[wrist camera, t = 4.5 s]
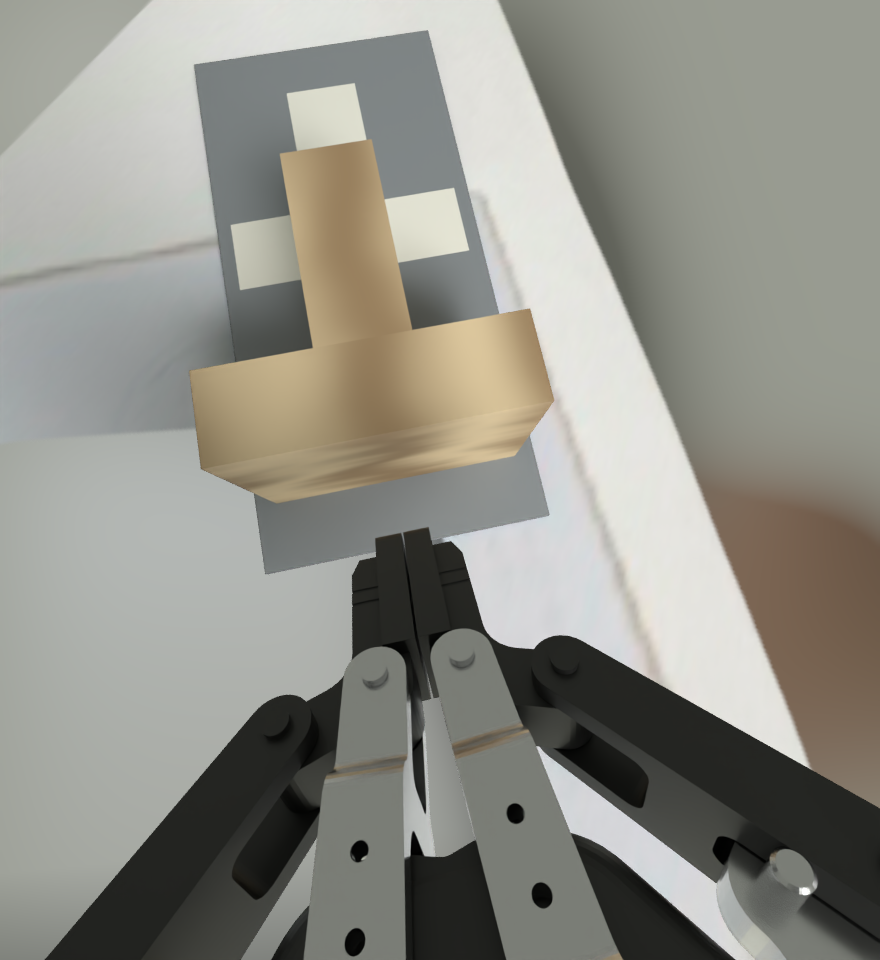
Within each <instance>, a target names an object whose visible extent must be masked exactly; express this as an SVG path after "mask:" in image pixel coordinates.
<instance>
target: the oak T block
mask: <svg viewBox="0 0 880 960" xmlns="http://www.w3.org/2000/svg"><path fill="white" fill-rule="evenodd" d="M280 159H281V164H282V170H283V176H284V182H285V188H286V194H287V199H288V205H289V211H290V217H291V223H292V229H293V234H294V240H295V246H296V252H297V258H298V263H299V269H300V275H301V281H302V287H303V293H304V298H305V304H306V310H307V316H308V322H309V327H310V333H311V339H312V345H313V348H311V349H305V350H300V351H294V352H289V353H284V354H278V355H273V356H267V357H262V358H256V359H251V360H245V361H240V362H234V363H229V364H223V365H218V366H212V367H207V368H201V369H196V370H190V371H189V374H190V382H191V390H192V399H193V407H194V415H195V423H196V432H197V440H198V448H199V457H200V464H201V469H202V470H204V471H206V472H208V473H211V474H213V475H215V476H217V477H219V478H222V479H224V480H226V481H228V482H230V483H233V484H235V485H237V486H239V487H241V488H243V489H246V490H248V491H250V492H252V493H254V494H257V495H259V496H261V497H263V498H265V499H267V500H270V501H272V502H274V503H276V504H277V503H282V502H287V501H292V500H297V499H302V498H307V497H312V496H317V495H322V494H327V493H332V492H337V491H342V490H347V489H352V488H357V487H362V486H367V485H372V484H377V483H382V482H387V481H392V480H397V479H402V478H407V477H412V476H417V475H422V474H427V473H432V472H437V471H442V470H447V469H452V468H457V467H462V466H467V465H472V464H477V463H482V462H487V461H492V460H497V459H502V458H507V457H512V456H515V455H516V453H517V452H518V451H519V449H520V448H521V446H522V445H523V444H524V442H525V441H526V439H527V438H528V437H529V435H530V434H531V432H532V431H533V430H534V428H535V427H536V425H537V424H538V423H539V421H540V420H541V418H542V417H543V416H544V414H545V413H546V411H547V410H548V409H549V407H550V406H551V404H552V403H553V402H554V398H553V394H552V390H551V386H550V382H549V379H548V375H547V371H546V367H545V364H544V360H543V356H542V352H541V348H540V345H539V341H538V337H537V333H536V329H535V326H534V322H533V318H532V314H531V311H530V309H525V310H519V311H514V312H508V313H503V314H497V315H492V316H486V317H481V318H475V319H470V320H464V321H459V322H453V323H448V324H443V325H437V326H432V327H426V328H421V329H415V330H412V326H411V321H410V316H409V312H408V307H407V302H406V298H405V293H404V288H403V284H402V279H401V274H400V270H399V265H398V260H397V256H396V251H395V246H394V242H393V237H392V232H391V228H390V223H389V218H388V213H387V209H386V204H385V199H384V195H383V190H382V185H381V181H380V176H379V171H378V167H377V162H376V157H375V153H374V148H373V143H372V139H369V140H363V141H356V142H350V143H344V144H337V145H331V146H325V147H318V148H312V149H306V150H300V151H293V152H287V153H281V154H280Z"/></svg>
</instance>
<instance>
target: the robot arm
mask: <svg viewBox="0 0 880 960" xmlns="http://www.w3.org/2000/svg"><path fill="white" fill-rule="evenodd" d="M403 535H404V541H403V537H402V534H401V533H397V534H392V535H388V536H383V537H378V538H375V547H376V557H375V558H370V559H365V560H360V561H359V563H358V565H357V567H356V569H355V571H354V573H353V575H352V592H353V594H352V605H353V607H352V630H353V631H352V640H353V642H352V644H353V646H352V648H353V654H352V661H351V662H350V663H349V665H348V666H347V668H346V671H345V674H344V676H343V678H342V679H341V680H340V681H339V682H338V683H337V684H335V685H334V686H333V687H332V688H330V689H328V690H327V691H325V692H323V693H322V694H320V695H318V696H316V697H314V698H312V699H310V700H309V701H307V702H306V701H305V700H303V699H302V698H301V697H298V696H295V695H283V696H279V697H276V698H274V699H271V700H269V701H268V702H266V703H265V704H263V705H262V706H261V707H260V708H258V709H257V711H256V712H255V713H254V714H253V715H252V716H251V717H250V718H249V720H248V721H247V722H246V723H245V724H244V726H243V727H242V728H241V729H240V730H239V731H238V733H237V734H236V735H235V736H234V737H233V739H232V740H231V741H230V742H229V743H228V744H227V746H226V747H225V748H224V749H223V750H222V752H221V753H220V754H219V755H218V756H217V758H216V759H215V760H214V761H213V762H212V763H211V764H210V766H209V767H208V768H207V769H206V771H205V772H204V773H203V774H202V775H201V776H200V777H199V779H198V780H197V781H196V782H195V783H194V785H193V786H192V787H191V788H190V789H189V790H188V792H187V793H186V794H185V795H184V796H183V798H182V799H181V800H180V801H179V802H178V803H177V805H176V806H175V807H174V808H173V809H172V811H171V812H170V813H169V814H168V815H167V816H166V818H165V819H164V820H163V821H162V822H161V823H160V825H159V826H158V827H157V828H156V829H155V831H154V832H153V833H152V834H151V835H150V836H149V838H148V839H147V840H146V841H145V842H144V843H143V845H142V846H141V847H140V848H139V849H138V850H137V852H136V853H135V854H134V855H133V856H132V858H131V859H130V860H129V861H128V862H127V863H126V865H125V866H124V867H123V868H122V869H121V871H120V872H119V873H118V874H117V875H116V876H115V878H114V879H113V880H112V881H111V882H110V883H109V885H108V886H107V887H106V888H105V889H104V891H103V892H102V893H101V894H100V895H99V897H98V898H97V899H96V900H95V901H94V902H93V904H92V905H91V906H90V907H89V908H88V909H87V911H86V912H85V913H84V914H83V915H82V917H81V918H80V919H79V920H78V921H77V922H76V924H75V925H74V926H73V927H72V928H71V929H70V931H69V932H68V933H67V934H66V935H65V937H64V938H63V939H62V940H61V941H60V943H59V944H58V945H57V946H56V947H55V948H54V950H53V951H52V952H51V953H50V954H49V956H48V957H47V958H46V959H45V960H241V958H242V957H243V955H244V953H245V952H246V950H247V949H248V947H249V945H250V944H251V942H252V941H253V939H254V937H255V936H256V934H257V933H258V931H259V929H260V928H261V926H262V924H263V923H264V921H265V920H266V918H267V917H268V915H269V913H270V912H271V910H272V909H273V907H274V905H275V904H276V902H277V901H278V899H279V897H280V896H281V894H282V892H283V891H284V889H285V888H286V886H287V885H288V883H289V881H290V880H291V878H292V876H293V875H294V873H295V872H296V870H297V869H298V867H299V865H300V864H301V862H302V860H303V859H304V857H305V856H306V854H307V853H308V851H309V849H310V848H311V846H312V845H313V843H314V841H315V840H316V838H317V845H316V853H315V861H314V870H313V879H312V888H311V897H310V905H309V906H308V907H307V908H306V909H305V910H304V912H303V913H302V914H301V915H300V916H299V918H298V919H297V920H296V921H295V922H294V924H293V925H292V927H291V928H290V929H289V931H288V932H287V934H286V935H285V937H284V938H283V940H282V942H281V943H280V945H279V947H278V949H277V950H276V952H275V954H274V956H273V958H272V959H271V960H735V959H734V958H733V957H732V956H730V955H729V954H728V953H727V952H726V951H725V950H724V949H722V948H721V947H720V946H719V945H718V944H717V943H716V942H714V941H713V940H712V939H711V938H710V937H709V936H708V935H706V934H705V933H704V932H703V931H702V930H701V929H700V928H698V927H697V926H696V925H695V924H694V923H693V922H692V921H690V920H689V919H688V918H687V917H686V916H685V915H684V914H682V913H681V912H680V911H679V910H678V909H677V908H676V907H674V906H673V905H672V904H671V903H670V902H669V901H668V900H666V899H665V898H664V897H663V896H662V895H661V894H660V893H658V892H657V891H656V890H655V889H654V888H653V887H652V886H651V885H649V884H648V883H647V882H646V881H645V880H644V879H643V878H641V877H640V876H639V875H638V874H637V873H636V872H635V871H633V870H632V869H631V868H630V867H629V866H628V865H627V864H625V863H624V862H623V861H622V860H621V859H619V858H618V857H617V856H616V855H614V854H613V853H611V852H610V851H609V850H607V849H606V848H604V847H603V846H601V845H599V844H597V843H595V842H593V841H591V840H589V839H587V838H584V837H582V836H579V835H576V834H572V833H570V830H569V828H568V825H567V823H566V820H565V818H564V815H563V813H562V810H561V808H560V805H559V803H558V800H557V798H556V795H555V793H554V790H553V788H552V785H551V783H550V780H549V778H548V775H547V773H546V770H545V768H544V765H543V763H542V760H541V758H540V755H539V753H538V750H537V747H536V746H540V748H541V749H542V750H543V751H544V752H545V753H546V754H547V755H548V756H549V757H551V758H552V759H553V760H555V761H556V762H557V763H559V764H560V765H561V766H563V767H564V768H565V769H567V770H568V771H569V772H571V773H572V774H573V775H574V776H576V777H577V778H578V779H580V780H581V781H582V782H584V783H585V784H586V785H588V786H589V787H590V788H592V789H593V790H594V791H596V792H597V793H598V794H599V795H601V796H602V797H603V798H605V799H606V800H607V801H609V802H610V803H611V804H613V805H614V806H615V807H617V808H618V809H619V810H621V811H622V812H623V813H625V814H626V815H627V816H628V817H630V818H631V819H632V820H634V821H635V822H636V823H638V824H639V825H640V826H642V827H643V828H644V829H646V830H647V831H648V832H650V833H651V834H652V835H653V836H655V837H656V838H657V839H659V840H660V841H661V842H663V843H664V844H665V845H667V846H668V847H669V848H671V849H672V850H673V851H675V852H676V853H677V854H679V855H680V856H681V857H682V858H684V859H685V860H686V861H688V862H689V863H690V864H692V865H693V866H694V867H696V868H697V869H698V870H700V871H701V872H702V873H704V874H705V875H706V876H708V877H709V878H710V879H711V880H713V881H714V882H715V883H717V889H716V893H717V901H718V906H719V909H720V912H721V915H722V917H723V919H724V921H725V923H726V925H727V927H728V929H729V930H730V932H731V933H732V935H733V936H734V937H735V938H736V940H737V941H738V942H739V943H740V944H741V945H742V946H743V947H744V948H745V949H746V950H747V951H748V952H749V953H750V954H751V955H752V956H753V957H754V958H755V959H756V960H880V808H878V807H876V806H875V805H873V804H871V803H869V802H868V801H866V800H864V799H862V798H860V797H858V796H856V795H855V794H853V793H851V792H850V791H848V790H846V789H844V788H843V787H841V786H839V785H837V784H835V783H834V782H832V781H830V780H828V779H826V778H825V777H823V776H821V775H820V774H818V773H816V772H814V771H812V770H811V769H809V768H807V767H805V766H803V765H802V764H800V763H798V762H796V761H795V760H793V759H791V758H789V757H787V756H786V755H784V754H782V753H780V752H779V751H777V750H775V749H773V748H771V747H770V746H768V745H766V744H764V743H763V742H761V741H759V740H757V739H755V738H754V737H752V736H750V735H748V734H747V733H745V732H743V731H741V730H739V729H738V728H736V727H734V726H732V725H731V724H729V723H727V722H725V721H723V720H722V719H720V718H718V717H716V716H715V715H713V714H711V713H709V712H707V711H706V710H704V709H702V708H700V707H699V706H697V705H695V704H693V703H691V702H690V701H688V700H686V699H684V698H682V697H681V696H679V695H677V694H675V693H674V692H672V691H670V690H668V689H666V688H665V687H663V686H661V685H659V684H658V683H656V682H654V681H652V680H650V679H649V678H647V677H645V676H643V675H642V674H640V673H638V672H636V671H634V670H633V669H631V668H629V667H627V666H626V665H624V664H622V663H620V662H618V661H617V660H615V659H613V658H611V657H610V656H608V655H606V654H604V653H602V652H601V651H599V650H597V649H595V648H594V647H592V646H590V645H588V644H586V643H585V642H583V641H581V640H579V639H577V638H574V637H571V636H562V635H559V636H552V637H549V638H547V639H544V640H543V641H541V642H540V643H539V644H538V645H537V646H536V647H535V649H523V648H513V647H508V646H505V645H503V644H500V643H498V642H497V641H495V640H494V639H493V638H491V637H490V636H489V634H488V633H487V632H486V630H485V629H484V626H483V623H482V620H481V616H480V613H479V609H478V606H477V602H476V599H475V595H474V592H473V588H472V585H471V582H470V578H469V574H468V571H467V568H466V564H465V560H464V557H463V553H462V552H461V551H460V550H459V549H458V548H457V547H456V546H455V545H454V544H453V543H452V542H451V541H450V542H445V543H440V544H435V545H432V540H431V536H430V531H429V527H425V528H421V529H416V530H411V531H406V532H403ZM404 542H405V545H404ZM427 674H428V675H427ZM428 678H429V681H430V685H431V689H432V693H433V697H434V698H437V697H440V701H441V705H442V709H443V714H444V717H445V722H446V726H447V730H448V734H449V738H450V741H451V746H452V750H453V754H454V757H455V762H456V766H457V770H458V774H459V778H460V781H461V786H462V789H463V793H464V798H465V801H466V805H467V809H468V814H469V817H470V821H471V825H472V830H473V834H474V838H475V841H473V842H471V843H469V844H468V845H466V846H464V847H463V848H461V849H459V850H458V851H456V852H454V853H453V854H451V855H449V856H446V857H435V849H434V841H433V835H432V829H431V821H430V807H429V789H428V773H427V753H426V735H425V729H424V726H425V722H424V713H423V705H422V701H424V700H428V699H431V695H430V689H429V682H428Z"/></svg>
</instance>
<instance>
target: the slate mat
mask: <svg viewBox="0 0 880 960" xmlns="http://www.w3.org/2000/svg"><path fill="white" fill-rule="evenodd" d="M194 67H195V74H196V81H197V88H198V95H199V103H200V110H201V117H202V124H203V131H204V138H205V146H206V153H207V160H208V167H209V174H210V181H211V189H212V196H213V203H214V210H215V217H216V224H217V232H218V239H219V246H220V253H221V260H222V267H223V275H224V282H225V289H226V296H227V303H228V311H229V318H230V325H231V332H232V339H233V346H234V354H235V361H236V362H240V361H245V360H251V359H256V358H262V357H267V356H273V355H278V354H284V353H289V352H294V351H300V350H305V349H311V348H313V345H312V339H311V333H310V327H309V322H308V316H307V310H306V304H305V298H304V293H303V287H302V281H301V275H300V269H299V263H298V258H297V252H296V246H295V240H294V234H293V229H292V223H291V217H290V211H289V205H288V199H287V194H286V188H285V182H284V176H283V170H282V164H281V159H280V154H281V153H287V152H293V151H300V150H306V149H312V148H318V147H325V146H331V145H337V144H344V143H350V142H356V141H363V140H369V139H372V143H373V148H374V153H375V157H376V162H377V167H378V171H379V176H380V181H381V185H382V190H383V195H384V199H385V204H386V209H387V213H388V218H389V223H390V228H391V232H392V237H393V242H394V246H395V251H396V256H397V260H398V265H399V270H400V274H401V279H402V284H403V288H404V293H405V298H406V302H407V307H408V312H409V316H410V321H411V326H412V330H415V329H421V328H426V327H432V326H437V325H443V324H448V323H453V322H459V321H464V320H470V319H475V318H481V317H486V316H492V315H497V314H499V311H498V307H497V303H496V299H495V295H494V291H493V287H492V284H491V280H490V276H489V272H488V268H487V264H486V260H485V256H484V252H483V248H482V244H481V240H480V236H479V232H478V228H477V224H476V220H475V216H474V212H473V208H472V204H471V200H470V196H469V192H468V188H467V184H466V180H465V176H464V172H463V168H462V164H461V160H460V156H459V152H458V148H457V144H456V140H455V136H454V132H453V128H452V124H451V120H450V116H449V112H448V108H447V104H446V100H445V96H444V92H443V88H442V84H441V80H440V76H439V72H438V68H437V64H436V60H435V56H434V52H433V48H432V44H431V40H430V37H429V33H428V30H427V31H420V32H413V33H406V34H400V35H393V36H386V37H379V38H372V39H366V40H359V41H352V42H345V43H338V44H332V45H325V46H318V47H311V48H304V49H297V50H291V51H284V52H277V53H270V54H263V55H257V56H250V57H243V58H236V59H229V60H223V61H216V62H209V63H202V64H195V65H194ZM254 496H255V504H256V511H257V518H258V525H259V533H260V540H261V547H262V554H263V561H264V569H265V574H270V573H276V572H281V571H285V570H290V569H295V568H300V567H305V566H309V565H314V564H319V563H324V562H329V561H334V560H338V559H343V558H348V557H353V556H358V555H362V554H367V553H372V552H376V547H375V538H378V537H383V536H388V535H392V534H397V533H401V534H402V537H403V541H404V535H403V532H406V531H411V530H416V529H421V528H425V527H429V531H430V536H431V540H435V539H439V538H444V537H449V536H454V535H459V534H463V533H468V532H473V531H478V530H483V529H488V528H492V527H497V526H502V525H507V524H512V523H516V522H521V521H526V520H531V519H536V518H540V517H545V516H549V511H548V507H547V503H546V499H545V495H544V491H543V487H542V483H541V479H540V475H539V471H538V467H537V463H536V459H535V455H534V451H533V447H532V443H531V439H530V435H529V437H528V438H527V439H526V441H525V442H524V444H523V445H522V446H521V448H520V449H519V451H518V452H517V453H516V455H515V456H512V457H507V458H502V459H497V460H492V461H487V462H482V463H477V464H472V465H467V466H462V467H457V468H452V469H447V470H442V471H437V472H432V473H427V474H422V475H417V476H412V477H407V478H402V479H397V480H392V481H387V482H382V483H377V484H372V485H367V486H362V487H357V488H352V489H347V490H342V491H337V492H332V493H327V494H322V495H317V496H312V497H307V498H302V499H297V500H292V501H287V502H282V503H277V504H276V503H274V502H272V501H270V500H267V499H265V498H263V497H261V496H259V495H257V494H254ZM404 545H405V542H404Z"/></svg>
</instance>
